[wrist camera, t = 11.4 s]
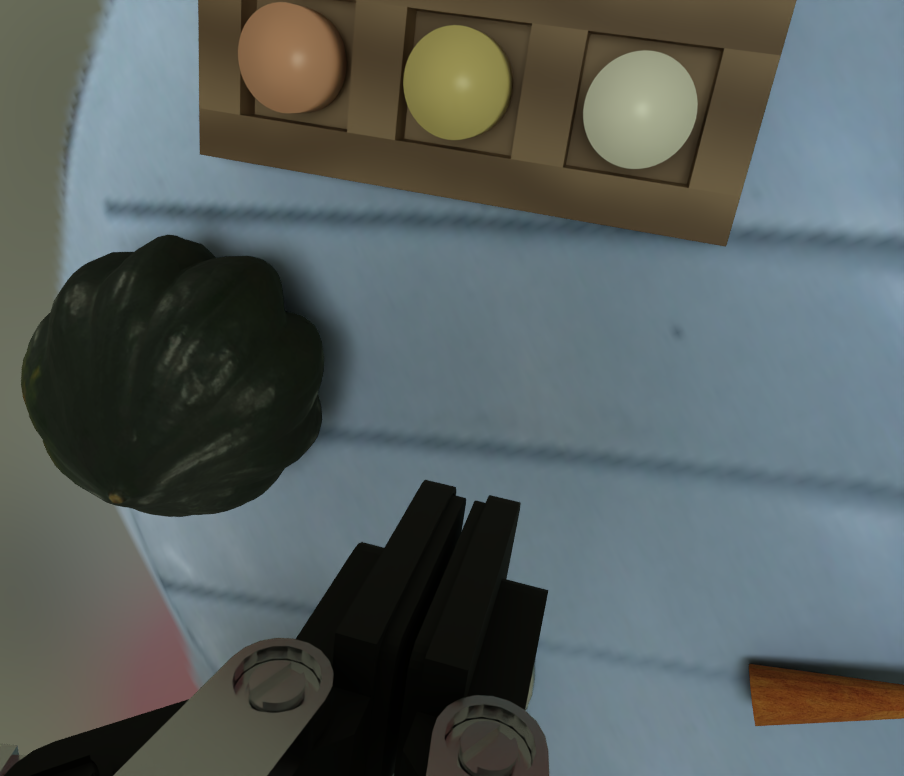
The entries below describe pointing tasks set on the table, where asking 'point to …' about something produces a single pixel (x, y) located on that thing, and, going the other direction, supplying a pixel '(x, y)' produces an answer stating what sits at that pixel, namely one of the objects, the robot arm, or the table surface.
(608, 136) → the cream button
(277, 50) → the terracotta button
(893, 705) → the purple and brown maraca
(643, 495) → the table surface
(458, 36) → the mustard button
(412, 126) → the button panel
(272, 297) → the squash
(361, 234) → the table surface
